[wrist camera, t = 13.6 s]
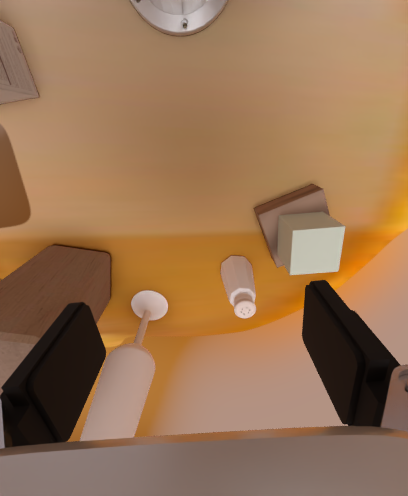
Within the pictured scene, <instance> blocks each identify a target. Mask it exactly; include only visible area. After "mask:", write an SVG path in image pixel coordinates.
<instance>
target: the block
mask: <svg viewBox="0 0 408 496" xmlns="http://www.w3.org/2000/svg"><path fill="white" fill-rule="evenodd" d="M109 301H110V255H109V254H108V253H105V252H98V251H91V250H84V249H78V248H71V247H64V246H57V245H53V246H48V247H47V248H46V249H44V250H43V251H41V252H40V253H39V254H37V255H36V256H34V257H33V258H32V259H30V260H29V261H28V262H26V263H25V264H23V265H22V266H21V267H19V268H18V269H17V270H15V271H14V272H12V273H11V274H10V275H8V276H7V277H5V278H4V279H3V280H1V281H0V395H1V394H2V392H3V390H2V389H1V387H2V386H3V385H4V383H5V382H6V381H7V380H8V378H9V377H10V376H11V375H12V373H13V372H14V371H15V370H16V368H17V367H18V366H19V365H20V363H21V362H22V361H23V360H24V358H25V357H26V356H27V355H28V353H29V352H30V351H31V350H32V348H33V347H34V346H35V345H36V343H37V342H38V341H39V340H40V338H41V337H42V336H43V335H44V333H45V332H46V331H47V330H48V328H49V327H50V326H51V325H52V323H53V322H54V321H55V320H56V318H57V317H58V316H59V315H60V313H61V312H62V311H63V310H64V308H65V307H66V306H67V305H68V304H69V303H76V302H84V303H85V304H86V305H89V307H90V309H91V312H92V314H93V317H94V320H95V322H96V323H97V322H98V320H99V318H100V316H101V315H102V313H103V311H104V309H105V308H106V306H107V304H108V302H109Z"/></svg>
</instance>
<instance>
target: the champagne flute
mask: <svg viewBox="0 0 408 496" xmlns="http://www.w3.org/2000/svg"><path fill="white" fill-rule="evenodd" d="M131 306H132V309H133V311H134V313H135V314H136V315H137V316H139V317H140V318H142V320H141V323H140V326H139V329H138V332H137V335H136V337H135V340H134V343H129V344H124V345H122V346H119V347H118V348H116V349H115V350H113V351H112V352H111V353H110V354H109V355H108V356H107V358H106V360H105V363H104V366H103V369H102V373H101V376H100V379H99V382H98V385H97V388H96V391H95V395H94V398H93V402H92V404H91V407H90V410H89V413H88V416H87V420H86V423H85V426H84V429H83V432H82V435H81V438H80V441H89V440H104V439H119V438H133V437H134V435H135V432H136V429H137V425H138V422H139V419H140V416H141V413H142V409H143V407H144V403H145V401H146V397H147V394H148V391H149V388H150V385H151V382H152V379H153V376H154V372H155V362H154V360H153V357H152V355H151V354H150V352H149V351H148V350H147V349H146V348H145V347H143V346H142V345H141V344H142V341H143V338H144V334H145V331H146V328H147V324H148V321H149V320H157V319H160V318H162V317H163V316H164V315H165V314H166V313H167V310H168V303H167V301H166V299H165V298H164V297H163V296H162V295H161V294H159V293H157V292H154V291H141V292H139V293H137V294H136V295H135V296H134V297H133V299H132V302H131Z"/></svg>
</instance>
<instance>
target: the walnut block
mask: <svg viewBox="0 0 408 496" xmlns="http://www.w3.org/2000/svg"><path fill="white" fill-rule="evenodd" d="M254 210H255V213H256V216H257V218H258V221H259V224H260V227H261V229H262V232H263V235H264V238H265V240H266V243H267V246H268V249H269V251H270V254H271V257H272V259H273V261H274V262H275V264H276V266H277V268H278V267H280V266H283V265H284V264H283V263H282V261H281V259H280V258H279V256H278V255H277V249H278V223H279V215H288V214H300V213H312V212H324V213H326V214H327V215H329V211H328V207H327V202H326V198H325V194H324V190H323V189H322V188H320V187H318V186H316V185H314V184H311V185H309V186H307V187H304V188H302V189H299V190H297V191H294V192H292V193H290V194H287V195H285V196H282V197H280V198H277V199H275V200H273V201H270V202H268V203H265V204H263V205H260V206H258V207H255V208H254ZM329 216H330V215H329Z"/></svg>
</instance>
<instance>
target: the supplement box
mask: <svg viewBox="0 0 408 496" xmlns="http://www.w3.org/2000/svg"><path fill="white" fill-rule="evenodd" d="M38 97H39V95H38V92H37V89H36V86H35V83H34V81H33V78H32V75H31V73H30V70H29V67H28V65H27V62H26V59H25V57H24V54H23V51H22V49H21V46H20V43H19V41H18V38H17V35H16V33H15V30H14V28H13V27H11V26H9V25H8V24H6V23H4V22H2V21H1V20H0V104H4V103H8V102H14V101H19V100H25V99H31V98H38Z"/></svg>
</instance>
